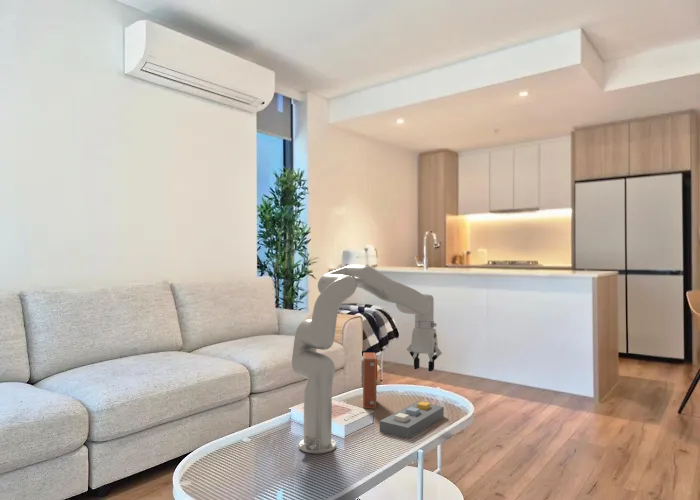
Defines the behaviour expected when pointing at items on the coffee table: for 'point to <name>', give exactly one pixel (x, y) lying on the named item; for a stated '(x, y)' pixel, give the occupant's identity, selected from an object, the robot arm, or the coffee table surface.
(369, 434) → the coffee table surface
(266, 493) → the coffee table surface
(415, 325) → the robot arm
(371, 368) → the terracotta rectangular block
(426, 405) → the amber button
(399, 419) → the white button
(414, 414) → the slate button
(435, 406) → the button strip
